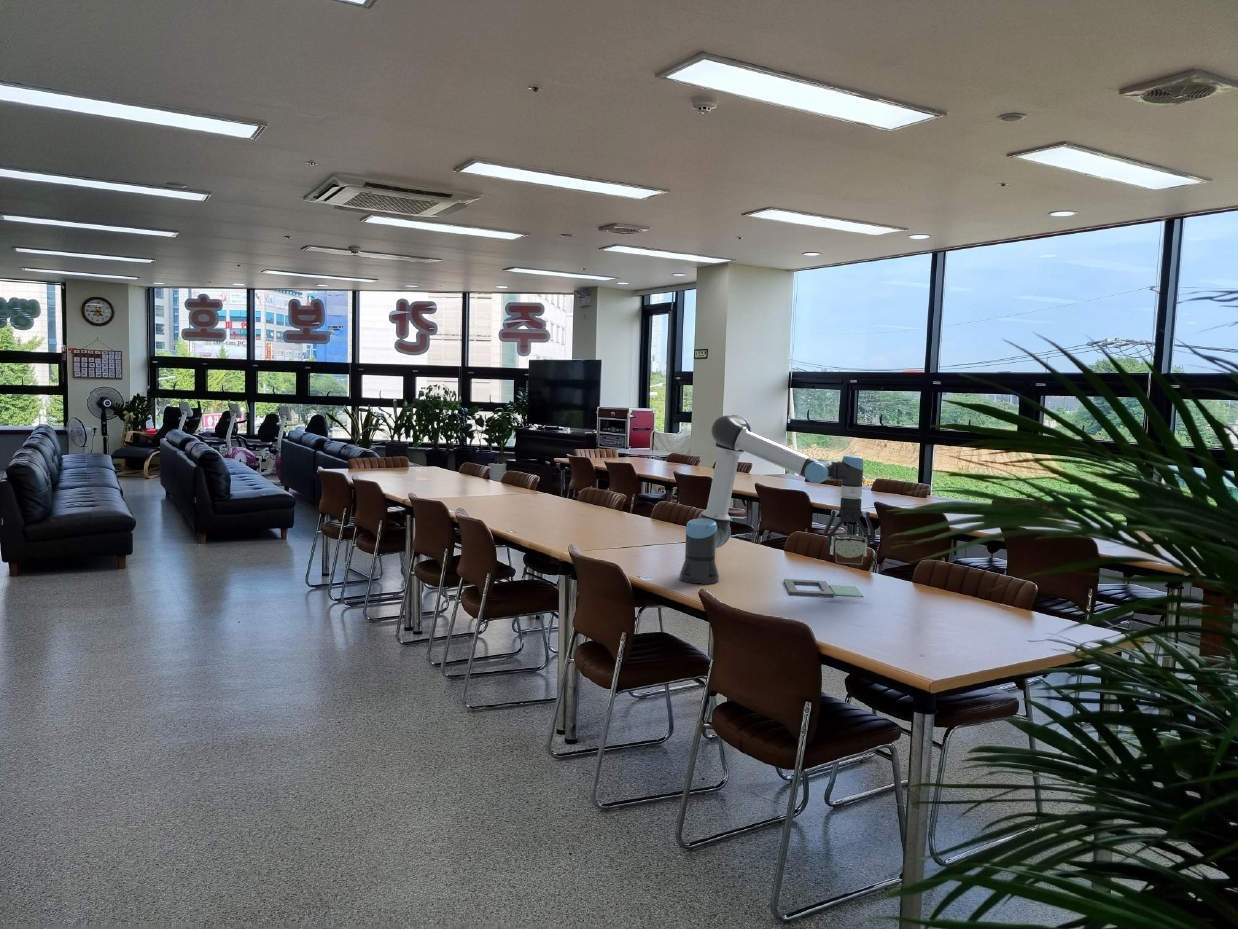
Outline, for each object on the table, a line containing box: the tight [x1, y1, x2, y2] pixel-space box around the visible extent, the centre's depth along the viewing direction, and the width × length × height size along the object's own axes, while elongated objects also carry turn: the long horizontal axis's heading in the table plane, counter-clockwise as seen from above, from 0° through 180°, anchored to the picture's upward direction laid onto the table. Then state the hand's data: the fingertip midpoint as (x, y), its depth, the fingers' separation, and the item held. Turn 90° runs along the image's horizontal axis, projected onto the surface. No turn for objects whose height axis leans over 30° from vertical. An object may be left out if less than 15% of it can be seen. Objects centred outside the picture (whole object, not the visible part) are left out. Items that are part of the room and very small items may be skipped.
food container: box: [833, 534, 867, 565], centre depth 317 cm, size 12×6×10 cm, turn 76°
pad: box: [828, 584, 864, 597], centre depth 319 cm, size 10×16×1 cm, turn 175°
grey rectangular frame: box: [783, 578, 835, 598], centre depth 320 cm, size 16×22×1 cm
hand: (848, 555), depth 318 cm, fingers closed on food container, 11 cm apart
